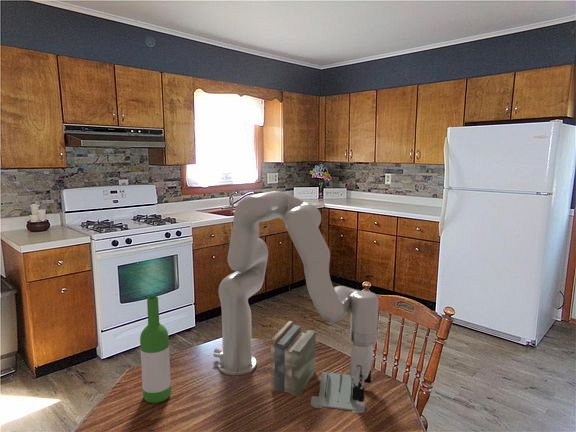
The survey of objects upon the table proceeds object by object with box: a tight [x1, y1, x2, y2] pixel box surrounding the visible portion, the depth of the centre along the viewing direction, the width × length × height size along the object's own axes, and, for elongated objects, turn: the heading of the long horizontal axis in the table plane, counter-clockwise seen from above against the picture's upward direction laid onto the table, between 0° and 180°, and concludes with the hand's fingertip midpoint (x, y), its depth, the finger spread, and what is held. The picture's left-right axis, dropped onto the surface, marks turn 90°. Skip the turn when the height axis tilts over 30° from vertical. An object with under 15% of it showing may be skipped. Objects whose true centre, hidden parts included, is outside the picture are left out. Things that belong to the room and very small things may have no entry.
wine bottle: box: [139, 295, 172, 404], centre depth 115 cm, size 8×8×30 cm
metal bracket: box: [310, 370, 366, 414], centre depth 118 cm, size 14×6×15 cm
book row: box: [270, 320, 317, 398], centre depth 124 cm, size 9×14×16 cm, turn 158°
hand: (361, 390), depth 117 cm, fingers open, 9 cm apart
